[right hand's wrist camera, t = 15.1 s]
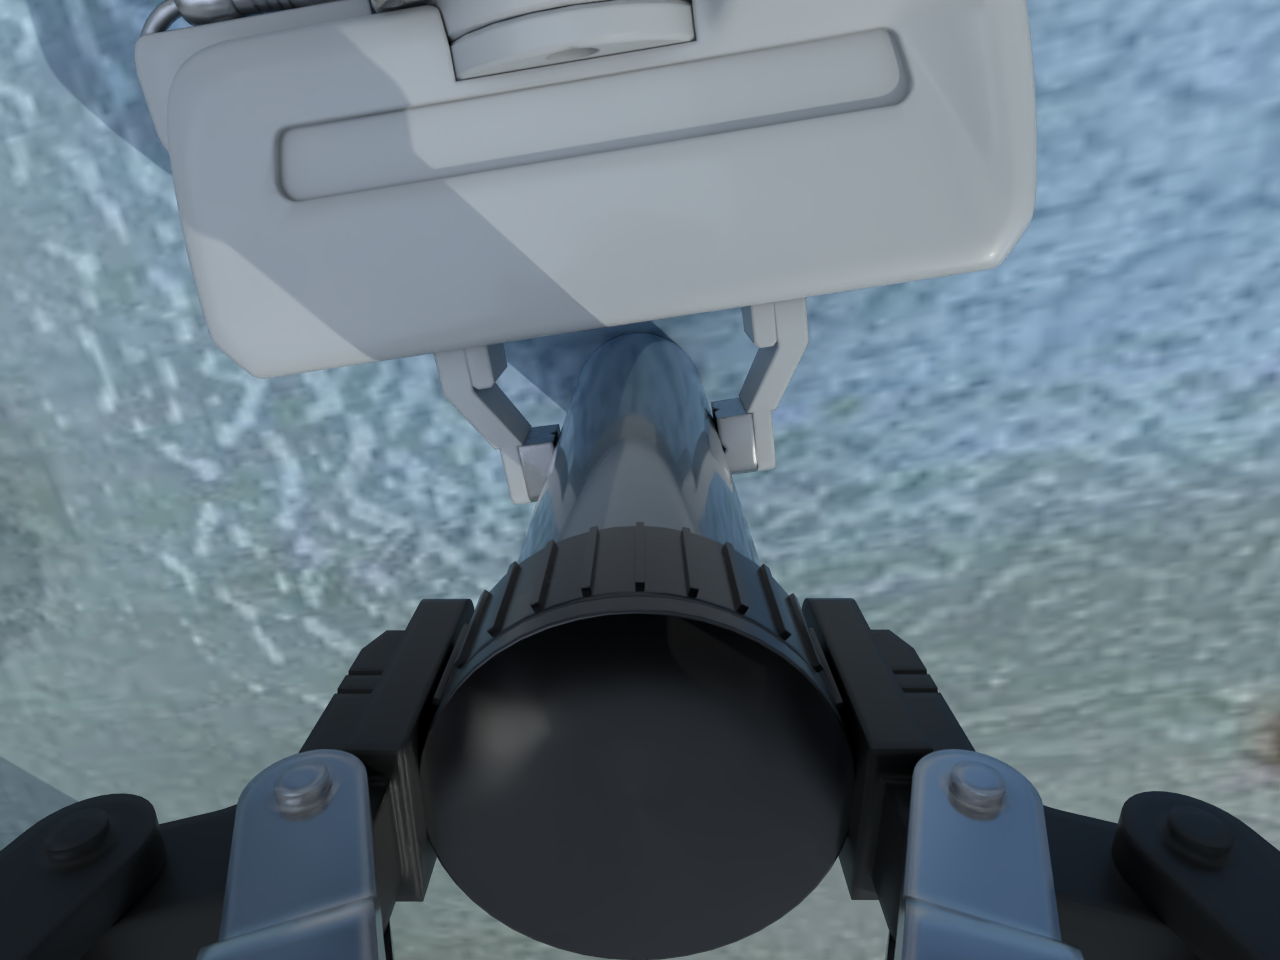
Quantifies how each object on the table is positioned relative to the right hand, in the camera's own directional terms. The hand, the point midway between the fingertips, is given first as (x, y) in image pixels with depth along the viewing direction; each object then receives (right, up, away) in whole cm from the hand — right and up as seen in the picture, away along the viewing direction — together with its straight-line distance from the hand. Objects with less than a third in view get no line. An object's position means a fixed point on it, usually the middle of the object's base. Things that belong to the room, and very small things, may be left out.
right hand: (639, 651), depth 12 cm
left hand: (0, +3, +10) cm, 10 cm away
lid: (0, -1, -3) cm, 3 cm away
